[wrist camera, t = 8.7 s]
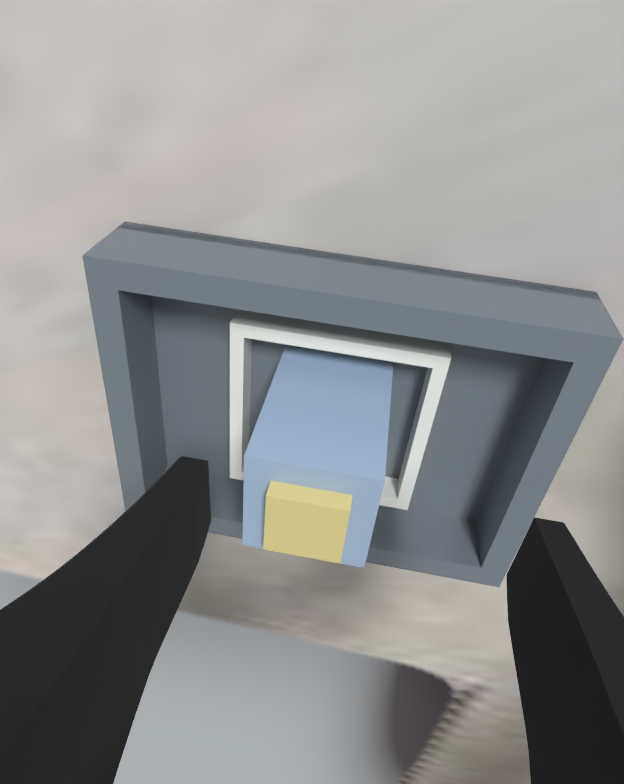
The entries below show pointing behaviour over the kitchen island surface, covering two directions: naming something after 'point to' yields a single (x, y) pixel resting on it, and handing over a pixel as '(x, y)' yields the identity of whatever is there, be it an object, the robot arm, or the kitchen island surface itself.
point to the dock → (357, 339)
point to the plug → (318, 457)
